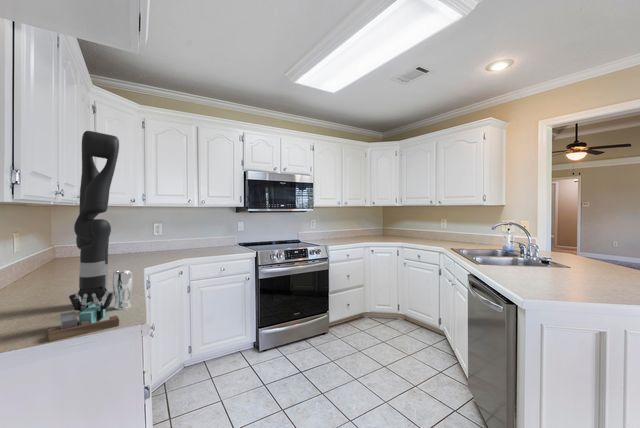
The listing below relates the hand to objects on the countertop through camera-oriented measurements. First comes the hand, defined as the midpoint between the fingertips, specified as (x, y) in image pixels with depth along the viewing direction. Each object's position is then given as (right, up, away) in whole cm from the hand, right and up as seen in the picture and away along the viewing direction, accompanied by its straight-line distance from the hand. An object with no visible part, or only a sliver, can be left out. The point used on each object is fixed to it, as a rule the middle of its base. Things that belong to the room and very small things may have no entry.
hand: (92, 320), depth 104 cm
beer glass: (0, -1, +16) cm, 16 cm away
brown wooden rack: (+4, -1, -7) cm, 8 cm away
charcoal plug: (-2, -1, -7) cm, 8 cm away
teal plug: (0, 0, 0) cm, 1 cm away
